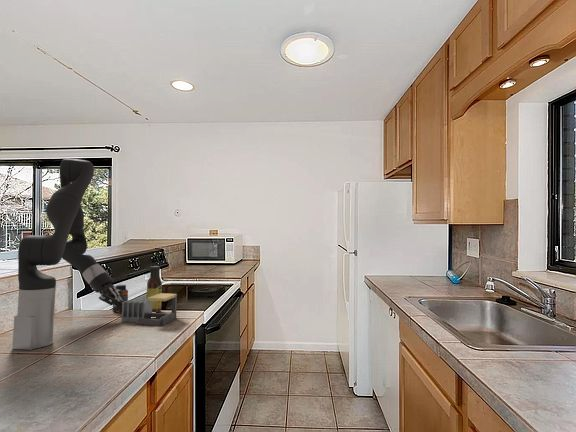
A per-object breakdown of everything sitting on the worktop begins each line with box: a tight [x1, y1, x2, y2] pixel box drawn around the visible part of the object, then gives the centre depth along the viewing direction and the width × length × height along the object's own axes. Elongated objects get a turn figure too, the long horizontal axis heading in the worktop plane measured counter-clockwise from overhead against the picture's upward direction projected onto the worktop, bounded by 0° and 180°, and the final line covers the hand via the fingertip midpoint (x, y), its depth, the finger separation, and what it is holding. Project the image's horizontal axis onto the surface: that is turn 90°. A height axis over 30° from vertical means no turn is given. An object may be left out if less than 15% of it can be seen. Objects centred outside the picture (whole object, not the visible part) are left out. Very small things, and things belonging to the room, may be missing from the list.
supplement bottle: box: [112, 284, 129, 312], centre depth 153 cm, size 6×6×11 cm
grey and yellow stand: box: [137, 292, 178, 327], centre depth 136 cm, size 11×10×10 cm
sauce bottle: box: [145, 265, 163, 313], centre depth 152 cm, size 6×6×20 cm
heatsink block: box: [121, 299, 152, 323], centre depth 137 cm, size 6×9×8 cm, turn 84°
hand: (125, 310), depth 137 cm, fingers closed
